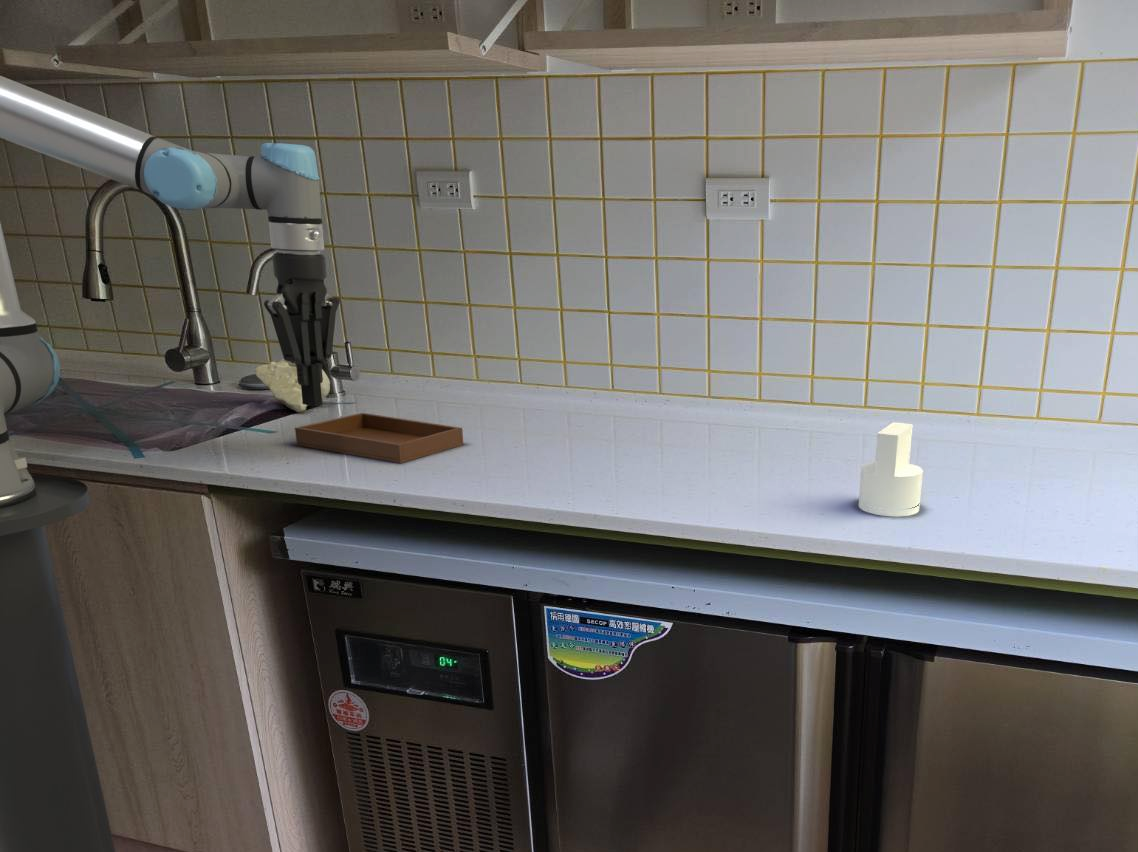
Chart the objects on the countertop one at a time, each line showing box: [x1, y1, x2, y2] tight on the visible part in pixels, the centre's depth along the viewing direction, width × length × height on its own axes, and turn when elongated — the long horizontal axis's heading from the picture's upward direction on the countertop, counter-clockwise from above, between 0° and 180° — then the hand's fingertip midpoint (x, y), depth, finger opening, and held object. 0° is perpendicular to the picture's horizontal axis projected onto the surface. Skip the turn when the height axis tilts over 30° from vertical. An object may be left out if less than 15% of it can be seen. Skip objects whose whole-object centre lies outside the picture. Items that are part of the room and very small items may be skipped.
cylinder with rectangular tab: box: [858, 421, 924, 518], centre depth 144 cm, size 9×9×12 cm
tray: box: [294, 412, 464, 464], centre depth 172 cm, size 16×24×3 cm, turn 65°
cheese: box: [254, 358, 331, 413], centre depth 200 cm, size 15×7×15 cm
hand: (312, 404), depth 158 cm, fingers closed
